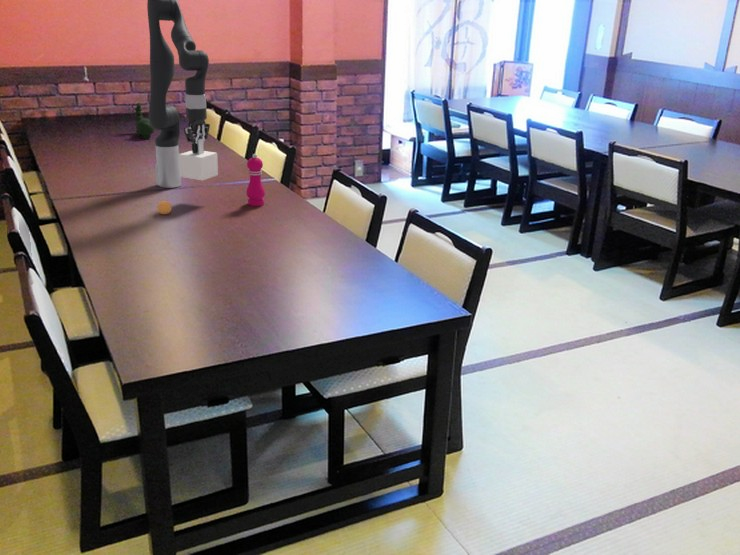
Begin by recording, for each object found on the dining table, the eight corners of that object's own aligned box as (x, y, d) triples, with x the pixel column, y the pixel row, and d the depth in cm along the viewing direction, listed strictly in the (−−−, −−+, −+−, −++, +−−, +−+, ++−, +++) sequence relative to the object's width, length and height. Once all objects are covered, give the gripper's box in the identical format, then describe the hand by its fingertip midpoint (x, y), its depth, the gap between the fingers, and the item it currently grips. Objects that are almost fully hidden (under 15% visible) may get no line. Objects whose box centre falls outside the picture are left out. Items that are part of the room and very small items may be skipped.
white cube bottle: (180, 176, 263) (178, 139, 257) (196, 171, 271) (194, 135, 266) (202, 180, 259) (200, 142, 254) (218, 175, 268) (216, 138, 262)
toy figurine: (132, 136, 392) (140, 140, 371) (128, 102, 386) (136, 104, 365) (148, 135, 396) (158, 139, 375) (145, 102, 390) (154, 104, 369)
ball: (155, 214, 252) (153, 201, 250) (163, 211, 256) (162, 198, 254) (166, 216, 250) (165, 203, 248) (174, 213, 254) (173, 200, 252)
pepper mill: (268, 203, 271) (267, 153, 264) (258, 207, 265) (257, 156, 257) (253, 200, 274) (252, 151, 266) (243, 204, 268) (241, 154, 260)
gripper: (199, 103, 262) (201, 147, 269) (175, 107, 250) (178, 154, 257) (215, 105, 260) (217, 150, 267) (192, 109, 248) (195, 156, 254)
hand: (198, 151), depth 262 cm, fingers closed on white cube bottle, 3 cm apart
